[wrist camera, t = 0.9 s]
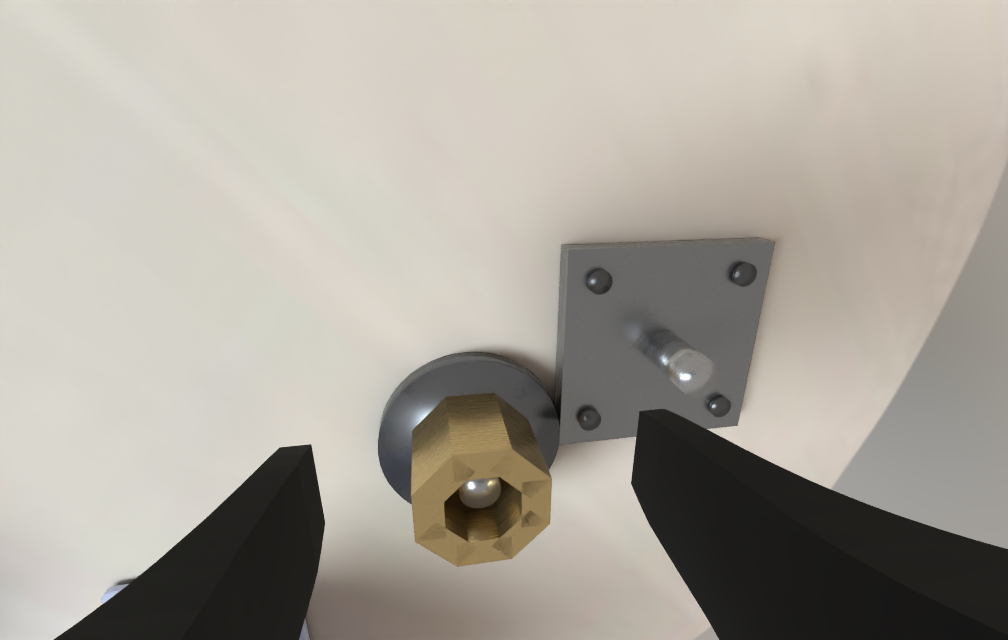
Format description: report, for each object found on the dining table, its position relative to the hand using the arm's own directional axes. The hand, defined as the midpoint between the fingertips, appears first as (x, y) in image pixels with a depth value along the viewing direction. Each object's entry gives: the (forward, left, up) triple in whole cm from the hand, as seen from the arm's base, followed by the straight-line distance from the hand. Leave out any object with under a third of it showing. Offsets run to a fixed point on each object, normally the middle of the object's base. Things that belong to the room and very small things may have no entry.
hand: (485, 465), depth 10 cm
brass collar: (-6, -1, -9) cm, 11 cm away
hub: (-2, -9, -10) cm, 13 cm away
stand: (-6, -1, -10) cm, 11 cm away
